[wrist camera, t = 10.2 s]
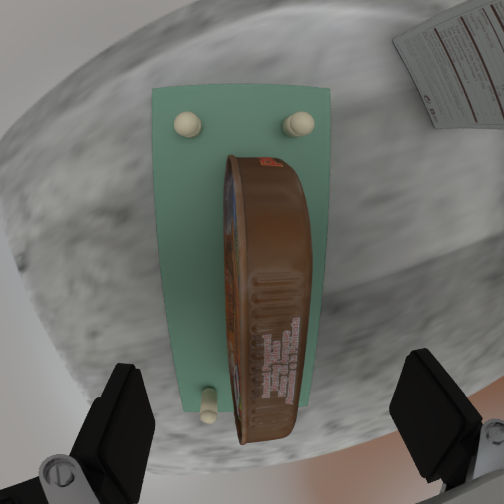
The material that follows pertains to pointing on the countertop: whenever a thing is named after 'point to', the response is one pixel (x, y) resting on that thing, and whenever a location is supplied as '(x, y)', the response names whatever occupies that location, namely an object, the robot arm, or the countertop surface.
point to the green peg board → (211, 213)
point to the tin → (265, 293)
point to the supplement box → (459, 64)
